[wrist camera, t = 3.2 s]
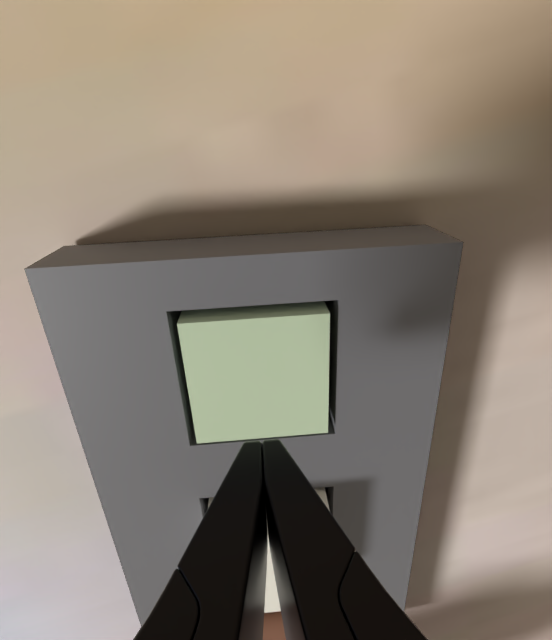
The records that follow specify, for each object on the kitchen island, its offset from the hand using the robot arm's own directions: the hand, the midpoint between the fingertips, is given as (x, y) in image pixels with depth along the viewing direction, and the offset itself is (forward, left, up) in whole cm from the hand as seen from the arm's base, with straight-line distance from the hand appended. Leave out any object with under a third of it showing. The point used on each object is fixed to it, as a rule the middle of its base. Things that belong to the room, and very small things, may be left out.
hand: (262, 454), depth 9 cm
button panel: (-8, 0, -6) cm, 10 cm away
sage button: (0, 0, -6) cm, 6 cm away
